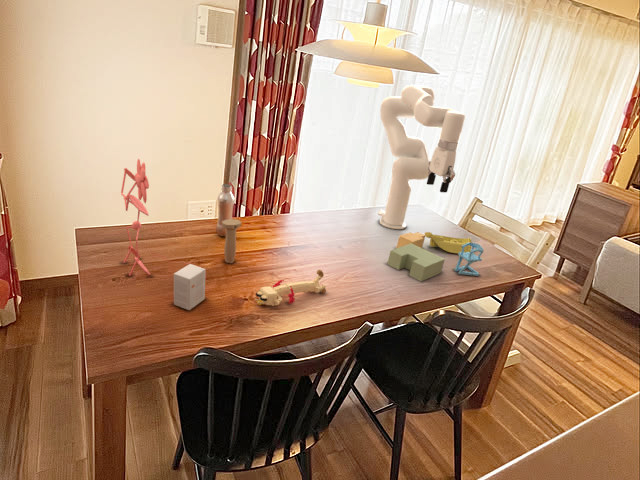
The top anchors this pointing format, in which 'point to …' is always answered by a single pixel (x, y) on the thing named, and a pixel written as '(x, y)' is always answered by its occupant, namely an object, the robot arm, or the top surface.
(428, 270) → the notch pad
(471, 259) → the chair
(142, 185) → the figurine
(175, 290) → the small box
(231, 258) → the handle
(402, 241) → the tan rectangular block
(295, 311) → the top surface
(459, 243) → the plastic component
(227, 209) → the plastic bottle
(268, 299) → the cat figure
